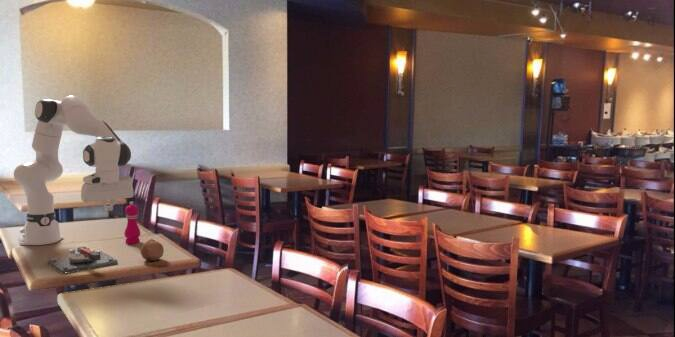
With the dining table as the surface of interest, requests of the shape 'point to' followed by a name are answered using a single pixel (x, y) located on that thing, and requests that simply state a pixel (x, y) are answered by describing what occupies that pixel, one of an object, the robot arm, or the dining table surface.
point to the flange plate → (67, 266)
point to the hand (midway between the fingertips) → (108, 210)
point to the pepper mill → (132, 225)
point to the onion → (152, 250)
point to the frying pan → (83, 255)
